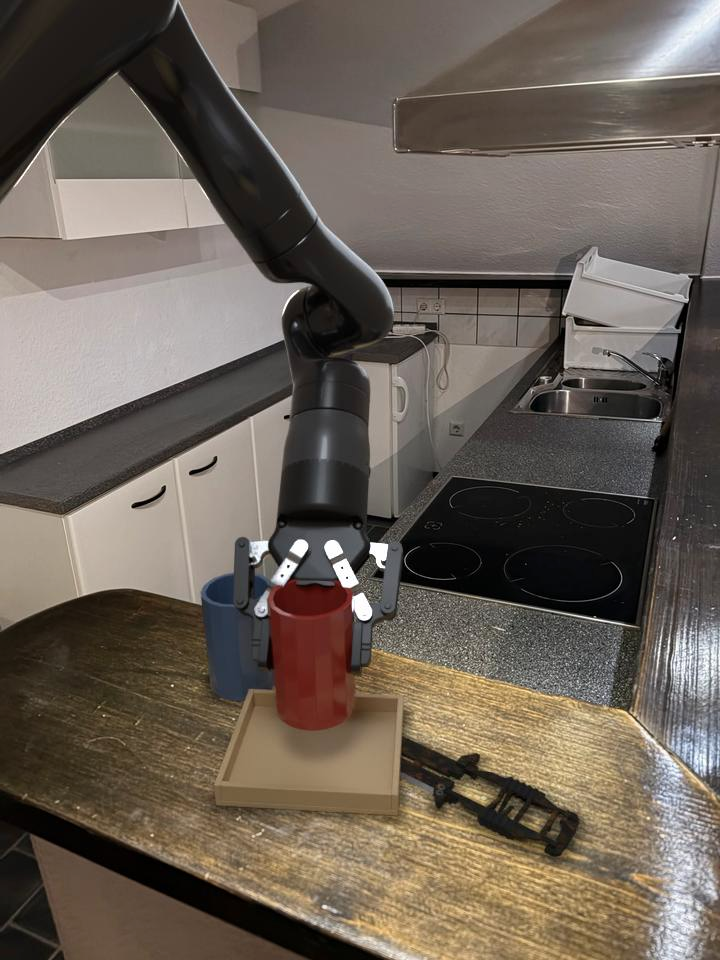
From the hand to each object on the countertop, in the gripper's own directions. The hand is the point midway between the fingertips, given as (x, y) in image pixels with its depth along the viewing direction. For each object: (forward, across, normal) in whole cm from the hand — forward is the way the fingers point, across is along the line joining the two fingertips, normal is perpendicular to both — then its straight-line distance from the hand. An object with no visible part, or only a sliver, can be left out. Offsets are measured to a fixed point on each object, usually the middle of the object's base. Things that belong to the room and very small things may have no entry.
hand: (310, 670), depth 59 cm
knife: (+7, +9, +8) cm, 13 cm away
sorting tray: (+6, 0, +8) cm, 10 cm away
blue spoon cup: (-1, -9, +15) cm, 17 cm away
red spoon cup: (+2, 0, +4) cm, 5 cm away
